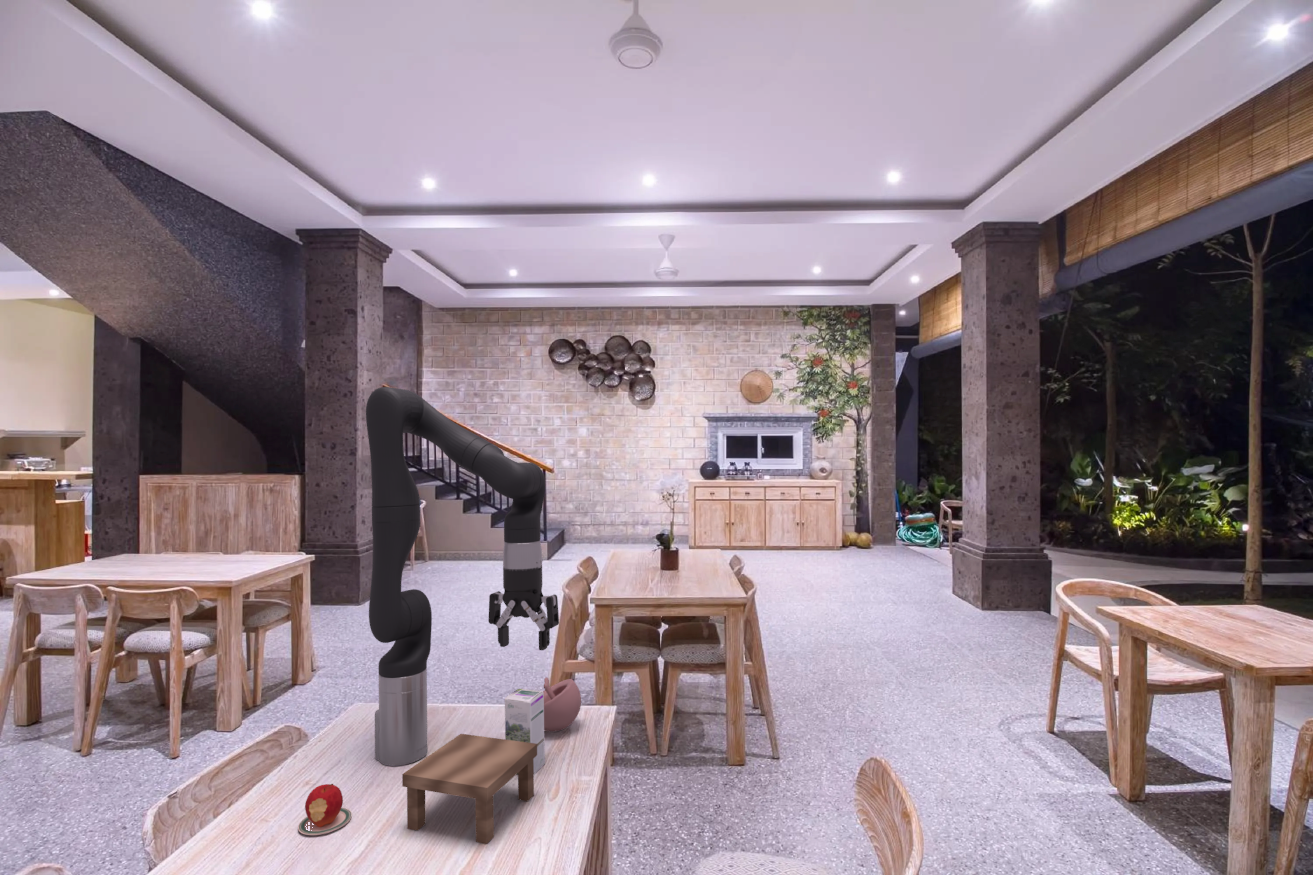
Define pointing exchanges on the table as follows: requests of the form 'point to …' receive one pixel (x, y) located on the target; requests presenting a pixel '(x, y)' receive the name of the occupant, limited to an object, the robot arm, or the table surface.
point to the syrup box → (526, 720)
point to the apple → (324, 811)
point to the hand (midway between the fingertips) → (523, 647)
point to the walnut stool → (470, 777)
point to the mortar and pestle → (560, 704)
